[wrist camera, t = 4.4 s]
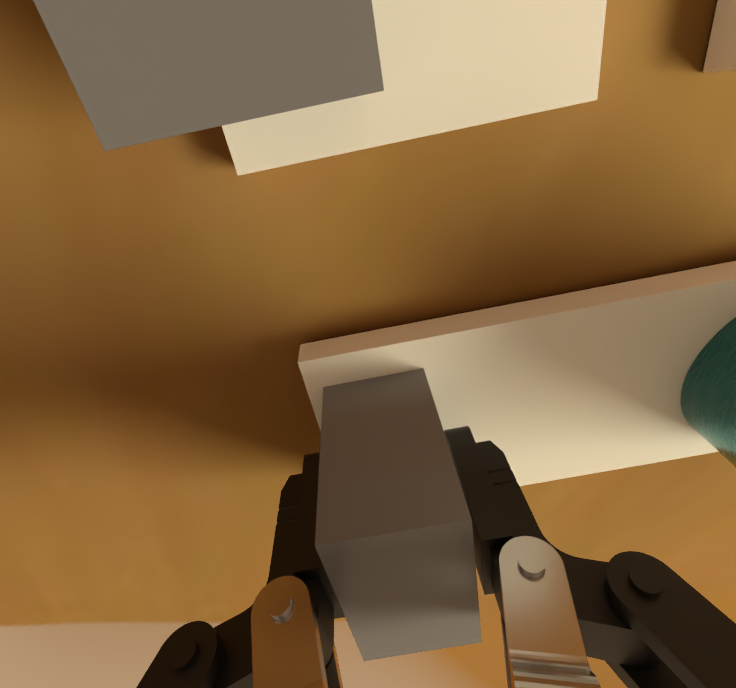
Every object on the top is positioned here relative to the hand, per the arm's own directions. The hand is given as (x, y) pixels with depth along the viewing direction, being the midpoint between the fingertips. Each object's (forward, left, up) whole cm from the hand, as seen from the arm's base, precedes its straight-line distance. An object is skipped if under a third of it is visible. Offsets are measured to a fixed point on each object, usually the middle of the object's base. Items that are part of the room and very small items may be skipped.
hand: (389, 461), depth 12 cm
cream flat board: (+7, 0, -2) cm, 7 cm away
